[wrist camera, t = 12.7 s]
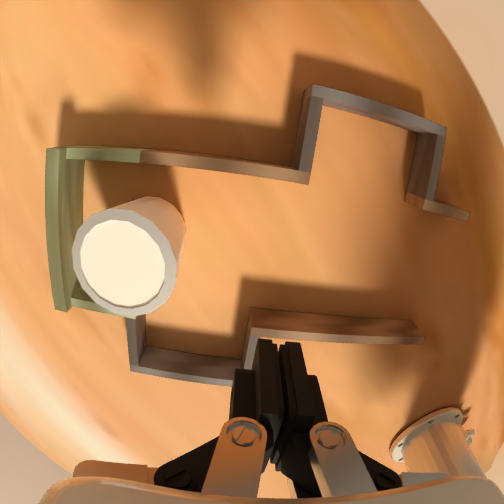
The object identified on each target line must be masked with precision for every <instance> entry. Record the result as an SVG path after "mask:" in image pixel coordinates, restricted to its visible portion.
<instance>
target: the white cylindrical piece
mask: <svg viewBox="0 0 504 504" xmlns="http://www.w3.org/2000/svg"><path fill="white" fill-rule="evenodd" d="M185 239H186V226H185V223H184V220H183V217H182V215H181V214H180V212H179V211H178V210H177V209H176V208H175V206H174V205H173V204H171V203H170V202H168V201H166V200H164V199H162V198H160V197H150V196H145V197H142V198H139V199H136V200H133V201H130V202H127V203H124V204H121V205H118V206H115V207H112V208H109V209H107V210H104V211H101V212H99V213H96V214H93V215H91V216H90V217H89V218H88V219H87V220H86V221H85V222H84V223H83V224H82V226H81V227H80V228H79V229H78V230H77V233H76V237H75V240H74V243H73V246H72V258H73V269H74V271H75V273H76V276H77V278H78V280H79V282H80V285H81V287H82V288H83V289H84V291H85V292H86V293H87V294H88V295H89V296H90V297H91V298H92V299H93V300H94V301H95V303H97V304H98V305H100V306H102V307H104V308H105V309H107V310H109V311H111V312H113V313H116V314H121V315H127V316H133V317H134V316H138V315H143V314H148V313H152V312H153V311H155V310H156V309H157V308H159V307H160V306H161V305H163V304H164V303H165V302H167V300H168V298H169V296H170V294H171V292H172V290H173V288H174V286H175V284H176V280H177V275H178V271H179V267H180V262H181V258H182V254H183V250H184V245H185Z"/></svg>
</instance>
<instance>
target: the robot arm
mask: <svg viewBox="0 0 504 504" xmlns="http://www.w3.org/2000/svg"><path fill="white" fill-rule="evenodd" d="M462 422H463V414H462V413H461V411H460V410H459V409H458V408H455V407H448V408H443V409H440V410H437V411H435V412H433V413H430V414H428V415H426V416H425V417H423V418H421V419H419V420H418V421H416V422H415V423H413V424H412V425H411V426H409V427H408V428H407V429H406V430H404V431H403V432H402V433H401V434H400V435H399V436H398V437H397V438H396V440H395V441H394V442H393V444H392V446H391V448H390V455H391V457H392V459H393V460H394V461H396V462H405V465H406V467H407V469H408V472H402V473H401V474H400V475H398V474H397V473H396V472H394V471H393V470H391V469H389V468H388V467H386V466H384V465H382V464H380V463H379V462H377V461H375V460H373V459H372V458H370V457H368V456H366V455H365V454H363V453H361V452H360V451H358V450H357V448H356V446H355V444H354V442H353V440H352V438H351V436H350V434H349V432H348V431H347V429H345V428H344V427H343V426H341V425H339V424H337V423H334V422H328V419H327V415H326V411H325V407H324V403H323V399H322V395H321V391H320V387H319V383H318V379H317V376H315V375H307V371H306V366H305V362H304V357H303V353H302V348H301V344H300V343H297V342H287V341H286V342H285V345H282V344H281V345H280V347H279V351H278V349H277V344H272V340H269V339H260V338H258V340H257V344H256V349H255V354H254V359H253V364H252V369H251V370H248V369H240V368H235V372H234V378H233V384H232V391H231V401H230V413H229V420H228V421H227V422H226V423H225V424H224V425H223V427H222V429H221V432H220V435H219V436H218V437H216V438H215V439H213V440H211V441H209V442H207V443H205V444H204V445H202V446H200V447H198V448H196V449H194V450H192V451H190V452H188V453H186V454H184V455H182V456H180V457H178V458H176V459H174V460H172V461H170V462H168V463H166V464H164V465H162V466H161V467H159V468H149V467H147V465H138V464H124V463H113V462H104V461H96V460H86V461H83V462H80V463H79V464H78V465H77V466H76V467H75V470H74V472H73V478H67V479H63V480H60V481H58V482H56V483H55V484H53V485H52V486H51V487H50V488H49V489H48V490H47V492H46V493H45V495H44V496H43V497H42V499H41V500H40V502H39V504H504V495H503V494H502V492H501V491H500V489H499V488H498V486H497V485H496V484H495V483H494V482H493V481H491V480H489V479H487V477H486V475H485V473H484V472H483V470H482V468H481V466H480V464H479V462H478V461H477V459H476V457H475V455H474V453H473V452H472V450H471V448H470V446H469V445H471V443H472V438H471V437H472V436H473V435H474V430H473V429H469V430H466V431H464V429H463V427H462V426H461V424H462ZM269 458H270V462H271V463H272V464H275V469H276V471H282V473H283V474H284V475H285V476H287V477H288V478H287V484H288V488H289V491H290V495H291V498H292V499H274V498H257V493H258V488H259V482H260V476H261V474H262V473H263V472H264V471H265V468H266V466H267V463H268V460H269Z"/></svg>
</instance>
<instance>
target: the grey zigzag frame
mask: <svg viewBox="0 0 504 504" xmlns="http://www.w3.org/2000/svg"><path fill="white" fill-rule="evenodd" d="M322 105H323V106H327V107H331V108H335V109H339V110H343V111H347V112H351V113H355V114H358V115H362V116H365V117H369V118H372V119H376V120H379V121H382V122H385V123H388V124H392V125H395V126H398V127H401V128H404V129H407V130H409V131H412V132H415V133H417V139H416V145H415V151H414V157H413V162H412V167H411V172H410V177H409V182H408V186H407V191H406V195H405V200H404V201H405V202H407V203H409V204H411V205H414V206H416V207H418V208H420V209H422V210H426V211H430V212H433V213H437V214H441V215H445V216H448V217H452V218H455V219H459V220H463V221H466V222H467V221H468V217H469V213H470V212H467V211H465V210H463V209H460V208H458V207H456V206H453V205H451V204H448V203H444V202H441V201H438V200H434V195H435V191H436V186H437V182H438V177H439V172H440V167H441V162H442V156H443V150H444V144H445V138H446V131H447V127H445V126H442V125H440V124H437V123H435V122H433V121H430V120H428V119H425V118H423V117H420V116H417V115H415V114H412V113H409V112H407V111H404V110H401V109H398V108H395V107H393V106H390V105H387V104H384V103H381V102H377V101H374V100H371V99H368V98H364V97H361V96H358V95H354V94H351V93H347V92H343V91H339V90H336V89H332V88H328V87H323V86H319V85H315V84H312V85H311V86H310V87H308V88H307V89H306V90H304V94H303V100H302V106H301V112H300V119H299V125H298V131H297V137H296V143H295V148H294V154H293V160H292V166H291V167H290V166H285V165H279V164H273V163H266V162H260V161H253V160H247V159H239V158H232V157H225V156H217V155H208V154H200V153H190V152H180V151H170V150H158V149H145V148H130V147H111V146H81V145H72V146H63V147H55V148H47V149H46V167H45V218H46V237H47V251H48V261H49V271H50V279H51V287H52V294H53V300H54V306H55V309H56V310H60V311H64V312H67V311H68V310H69V309H70V308H71V307H72V306H73V307H78V308H82V309H87V310H91V311H96V312H101V313H106V314H111V315H116V316H121V317H126V327H127V340H128V352H129V362H130V371H133V372H138V373H143V374H148V375H154V376H159V377H165V378H171V379H177V380H183V381H190V382H197V383H204V384H212V385H221V386H230V387H232V384H233V378H234V372H235V368H240V369H248V370H251V369H252V364H253V359H254V354H255V349H256V344H257V340H258V338H260V337H268V338H279V339H291V340H304V341H319V342H336V343H359V344H422V343H423V341H424V339H425V336H424V335H423V334H422V333H421V331H420V330H419V329H418V328H417V326H416V325H415V324H414V323H413V321H412V320H393V319H376V318H361V317H347V316H334V315H322V314H311V313H300V312H290V311H280V310H271V309H262V308H253V307H250V313H249V319H248V324H247V330H246V336H245V341H244V347H243V352H242V358H241V359H232V358H223V357H215V356H207V355H200V354H193V353H186V352H179V351H173V350H167V349H161V348H155V347H149V346H146V318H145V314H143V315H138V316H134V317H133V316H127V315H121V314H116V313H113V312H111V311H109V310H107V309H105V308H104V307H102V306H100V305H98V304H97V303H95V301H94V300H93V299H92V298H91V297H90V296H89V295H88V294H87V293H86V292H85V291H84V289H83V288H82V287H81V285H80V282H79V280H78V278H77V276H76V273H75V271H74V269H73V258H72V246H73V243H74V240H75V237H76V233H77V230H78V229H79V228H80V227H81V226H82V224H83V181H84V162H85V160H103V161H119V162H133V163H146V164H157V165H168V166H178V167H187V168H196V169H205V170H213V171H221V172H229V173H236V174H243V175H250V176H257V177H263V178H270V179H276V180H282V181H288V182H294V183H300V184H306V185H308V184H309V179H310V174H311V168H312V163H313V157H314V151H315V146H316V140H317V134H318V128H319V122H320V116H321V110H322Z"/></svg>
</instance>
